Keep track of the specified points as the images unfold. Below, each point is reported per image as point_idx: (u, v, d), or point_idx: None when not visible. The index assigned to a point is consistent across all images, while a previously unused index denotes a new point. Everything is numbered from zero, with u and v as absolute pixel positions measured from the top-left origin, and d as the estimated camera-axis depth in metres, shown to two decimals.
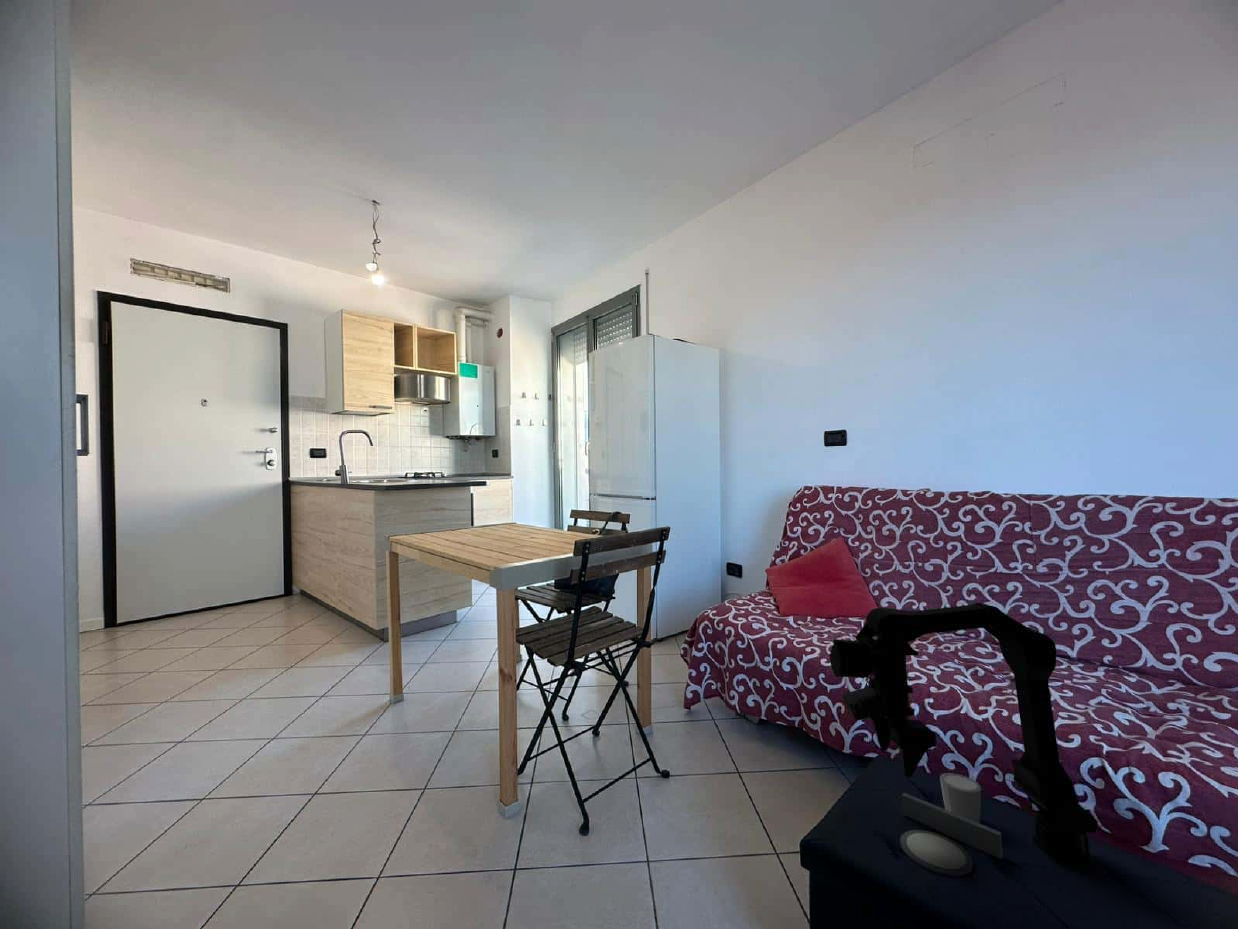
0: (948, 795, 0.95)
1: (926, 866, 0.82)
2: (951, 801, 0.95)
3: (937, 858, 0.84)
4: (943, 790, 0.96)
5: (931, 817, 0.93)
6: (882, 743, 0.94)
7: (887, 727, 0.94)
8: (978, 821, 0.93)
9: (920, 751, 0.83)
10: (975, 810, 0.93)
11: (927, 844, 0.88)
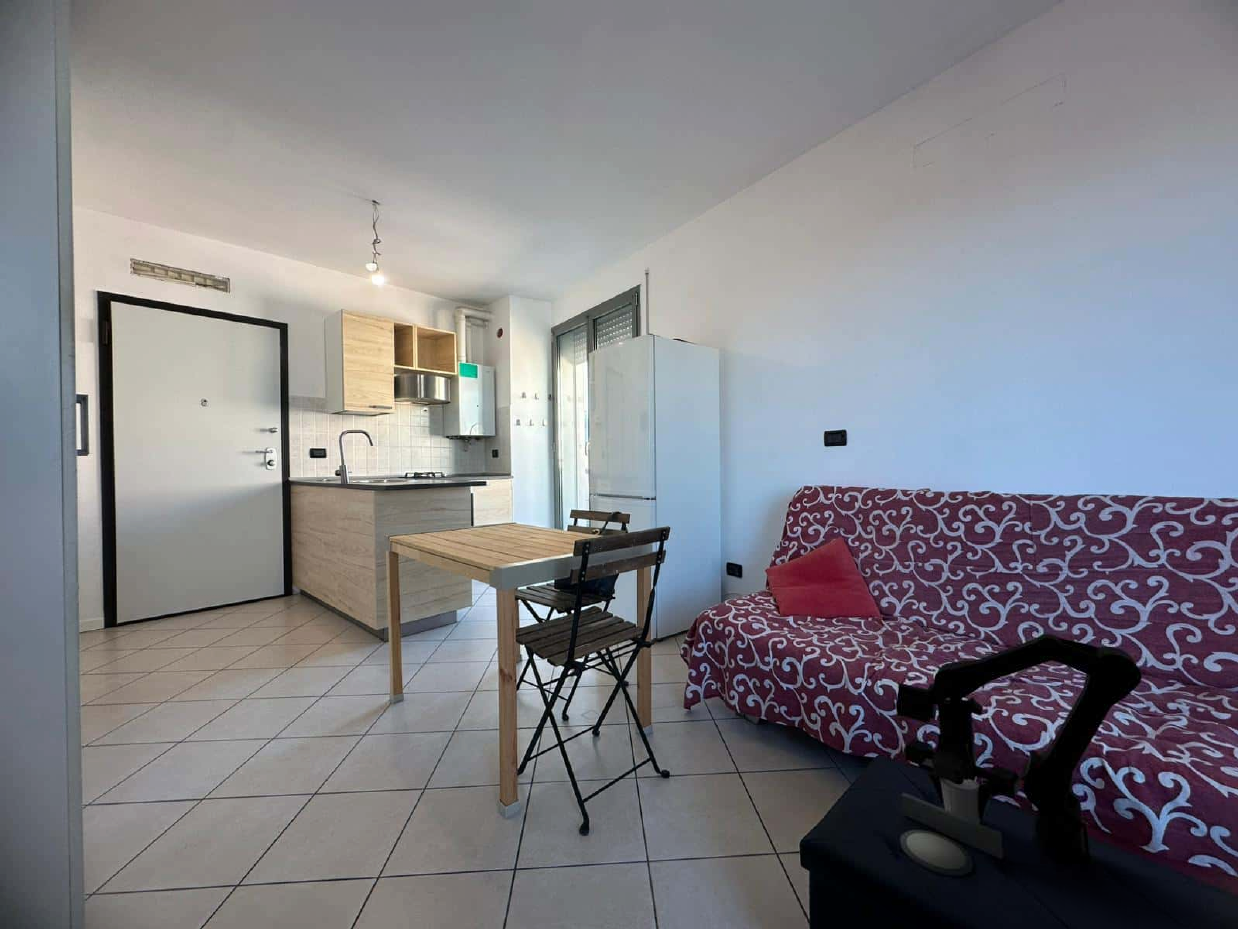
0: (948, 795, 0.95)
1: (926, 866, 0.82)
2: (951, 800, 0.95)
3: (937, 858, 0.84)
4: (943, 790, 0.96)
5: (931, 817, 0.93)
6: None
7: None
8: (978, 821, 0.93)
9: None
10: (975, 810, 0.93)
11: (927, 844, 0.88)
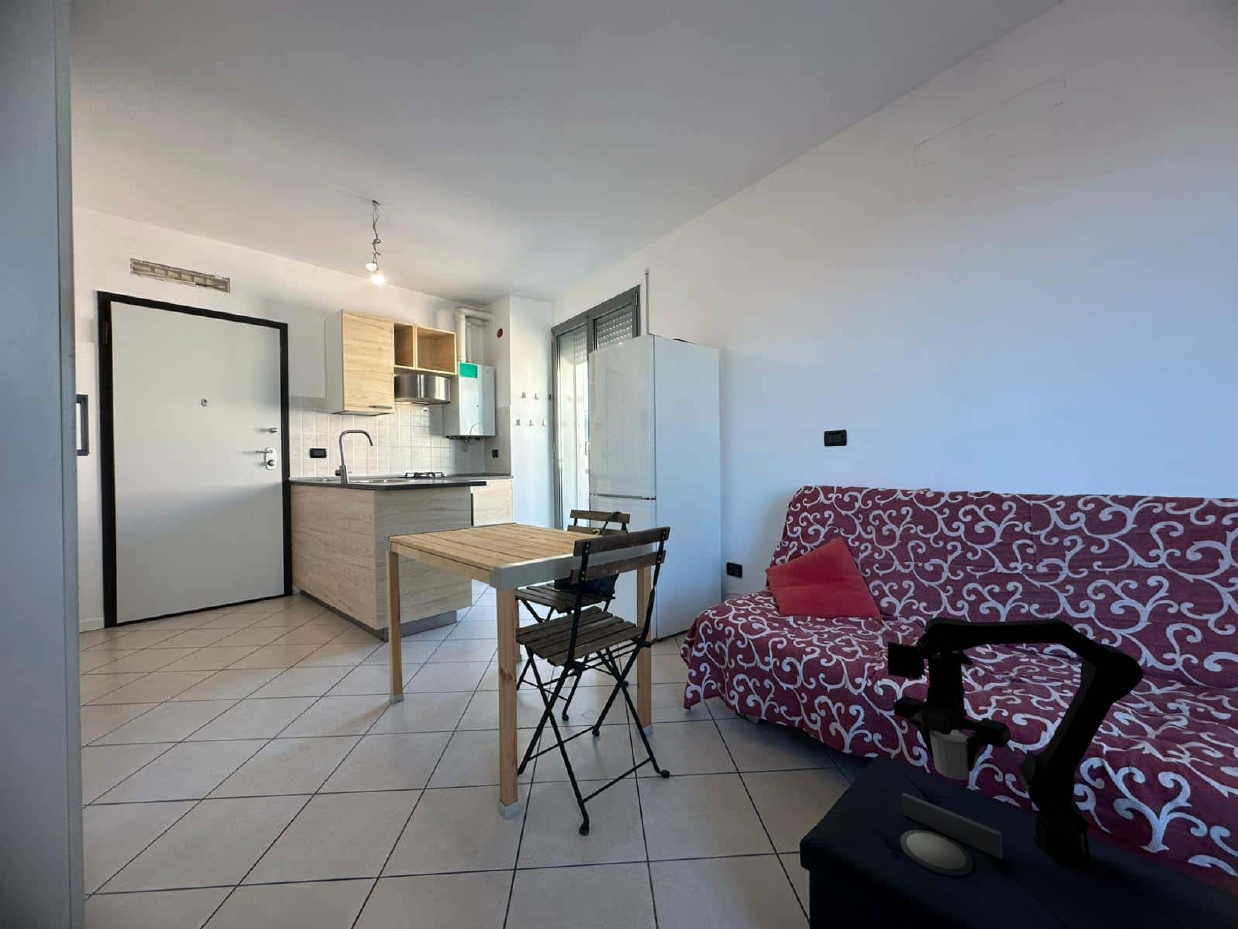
0: (937, 748, 0.94)
1: (926, 866, 0.82)
2: (940, 753, 0.94)
3: (937, 858, 0.84)
4: (932, 743, 0.95)
5: (931, 817, 0.93)
6: None
7: None
8: (967, 774, 0.92)
9: None
10: (964, 762, 0.92)
11: (927, 844, 0.88)
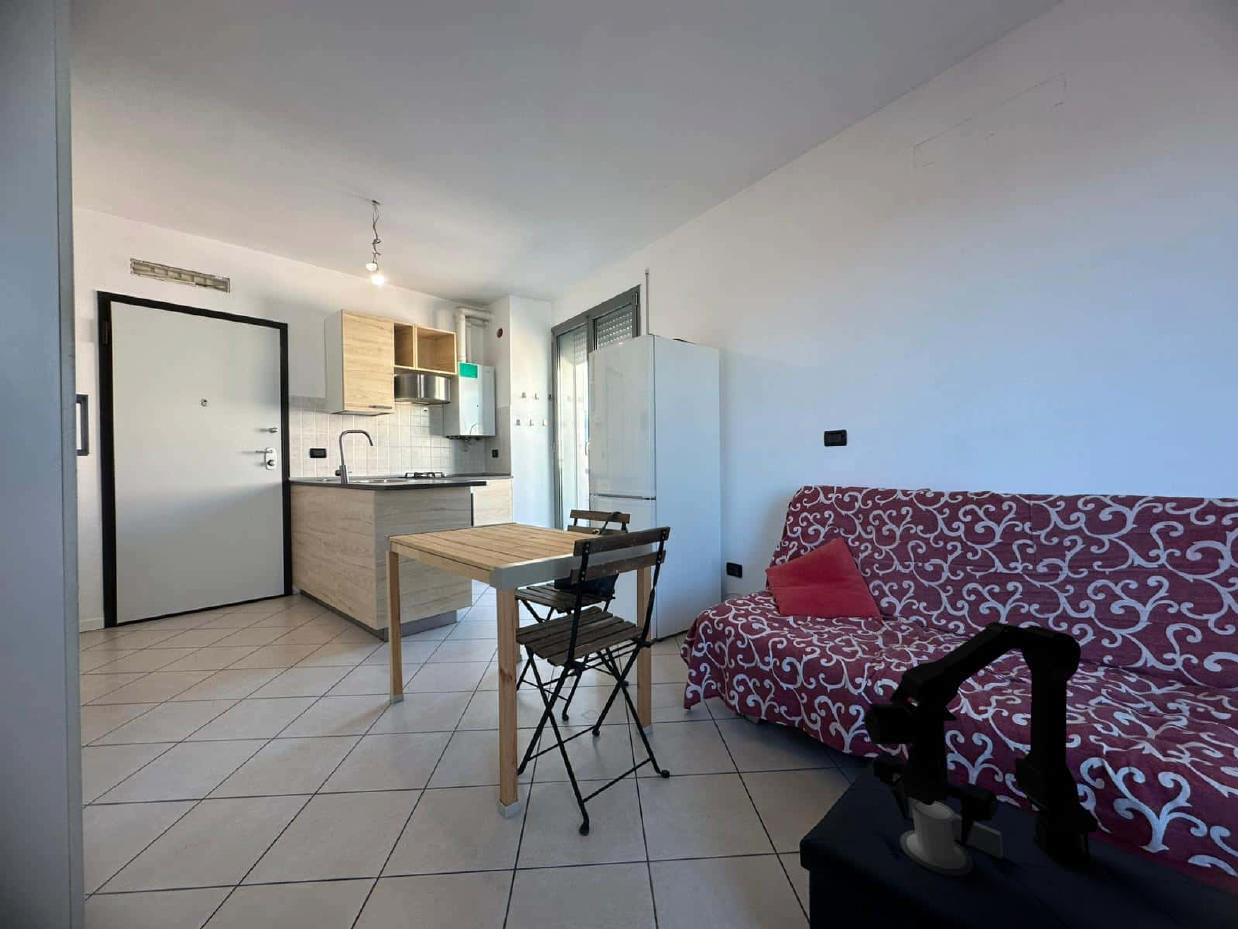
0: (919, 824, 0.86)
1: (926, 866, 0.82)
2: (923, 830, 0.85)
3: None
4: (914, 818, 0.87)
5: None
6: (906, 813, 0.90)
7: None
8: (952, 854, 0.84)
9: None
10: (949, 842, 0.83)
11: None
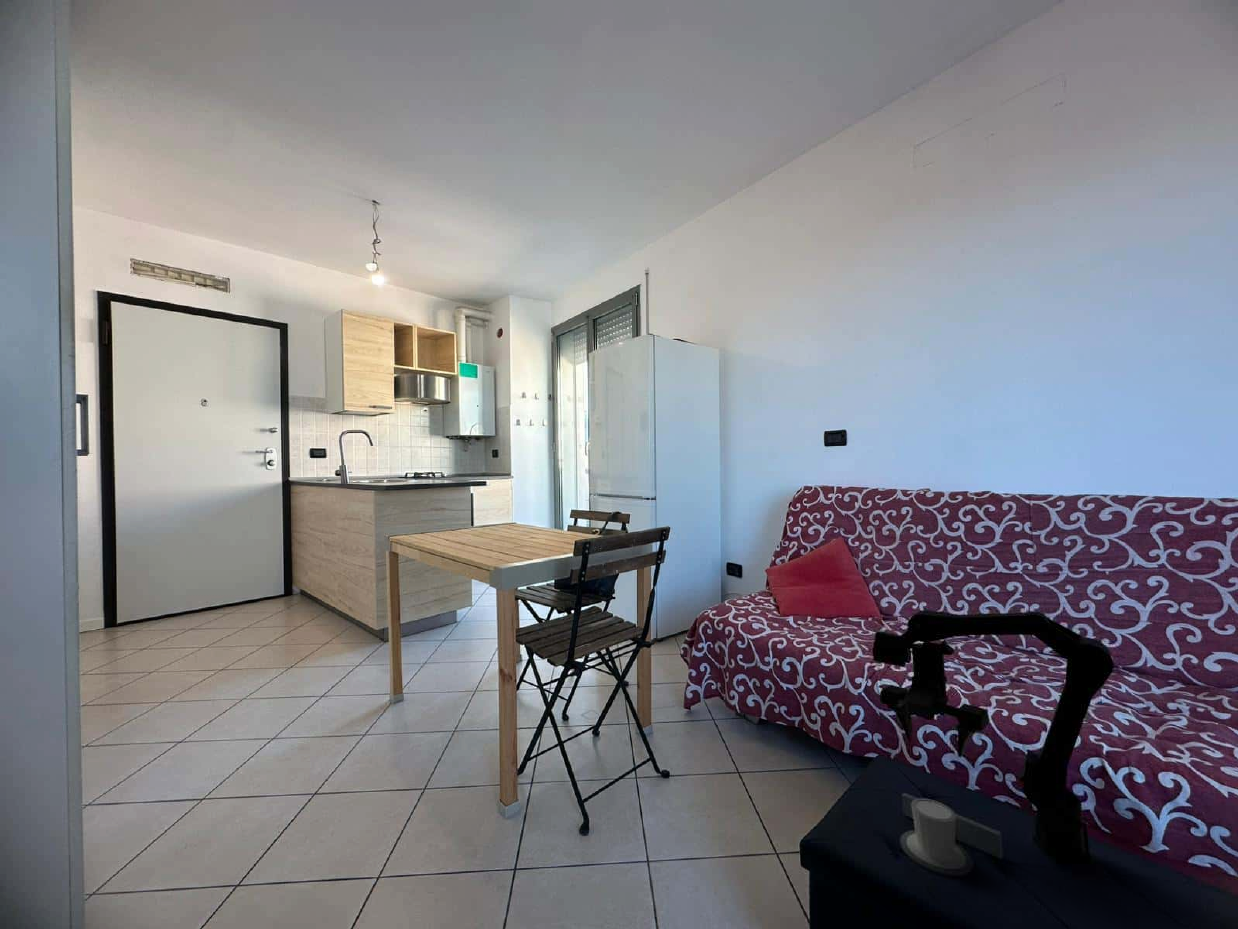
0: (919, 824, 0.86)
1: (926, 866, 0.82)
2: (923, 830, 0.85)
3: None
4: (914, 818, 0.87)
5: None
6: (910, 734, 1.03)
7: (909, 717, 1.04)
8: (952, 854, 0.84)
9: None
10: (949, 842, 0.83)
11: None
